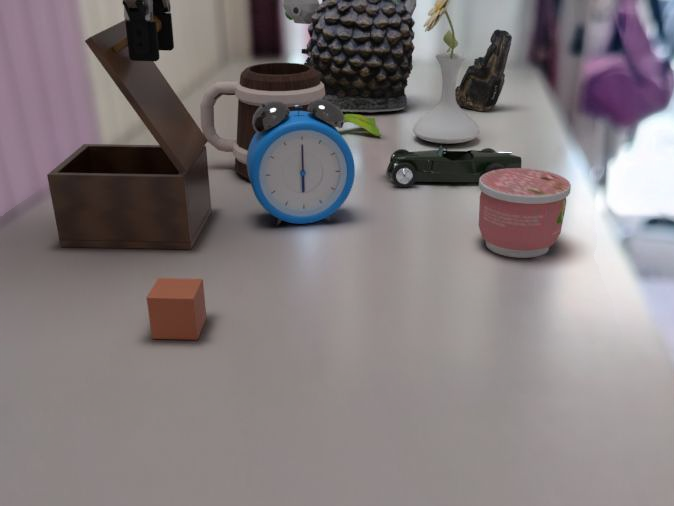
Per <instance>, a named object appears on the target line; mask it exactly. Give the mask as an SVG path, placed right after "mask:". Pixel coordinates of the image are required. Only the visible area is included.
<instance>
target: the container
mask: <svg viewBox="0 0 674 506" xmlns="http://www.w3.org/2000/svg"><path fill="white" fill-rule="evenodd" d="M478 188H479V191H480V195H479V207H478V228H479V231H480V234H481V238H482V239H483V240H484V241H485V247H486V248H487V249H488V250H490V251H491V252H492V253H495V254H498V255H501V256H504V257H510V258H518V259H528V258H536V257H541V256H543V255H546V254H547V253H548V252H549V250H550V247H552V246H553V245H554V244H555V243H556V241H557V239H558V238H559V236H560V235H561V232H562V228H563V223H564V217H565V211H566V207H567V197H568V196H569V195H570V194H571V190H572V189H571V188H572V184H571V182H570V181H569V180H568V179H567V178H565V177H564V176H561V175H560V174H557V173H554V172H550V171H547V170H542V169H536V168H525V167H521V168H506V169H498V170H493V171H490V172H487V173H485V174H483V175H482V176H481V177H480V179H479V182H478Z"/></svg>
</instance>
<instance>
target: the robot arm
mask: <svg viewBox="0 0 674 506" xmlns="http://www.w3.org/2000/svg"><path fill="white" fill-rule="evenodd" d="M121 2H122V6H123V17H124V20H125V23H126V32H127V41H128V50H129V58H130V59H131V60H132V61H154V62H158V61H159V60H160V51H168V52H169V51H170V52H171V51H172V50H174V48H175V45H174V44H175V43H174V30H173V19H172V13H171V8H172V7H171V0H122V1H121ZM153 15H155V16H157V17H158V18H159V19H160V21H161V25H162V26H161V30H160V31H159V32H158V33H157V24H156V21H153Z"/></svg>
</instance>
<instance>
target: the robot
mask: <svg viewBox="0 0 674 506" xmlns="http://www.w3.org/2000/svg"><path fill="white" fill-rule="evenodd" d="M319 4H320V2H319V0H283V3H282V7H283V10H284V11H285V12H284V15H285V17H286V18H287V19H288V20H289V21H293V23H294V24H300V25H301V24H302V25H311V24H312V19H311V17H312V16H313V15H314V11H315V10H316V9H317V8H318V5H319ZM301 54H303V55H306V56H307V57H306V59H305V61H304V63H303V64H305V65H308V66H311V67H313V66H312V65H311V63H310V60H311V53H310V51H309V50H308V49H307V48H301Z"/></svg>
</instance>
